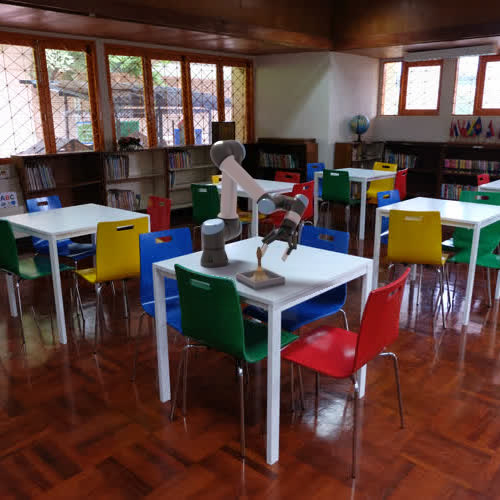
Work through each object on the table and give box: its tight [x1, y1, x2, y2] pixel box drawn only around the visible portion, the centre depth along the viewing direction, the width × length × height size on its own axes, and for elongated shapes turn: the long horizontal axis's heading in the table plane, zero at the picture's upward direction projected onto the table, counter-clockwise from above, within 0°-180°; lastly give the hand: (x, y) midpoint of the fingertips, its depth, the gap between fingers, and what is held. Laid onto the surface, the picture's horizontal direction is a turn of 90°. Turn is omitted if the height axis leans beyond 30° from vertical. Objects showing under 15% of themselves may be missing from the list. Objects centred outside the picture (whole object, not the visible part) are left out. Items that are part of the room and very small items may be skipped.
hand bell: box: [251, 246, 268, 282], centre depth 233 cm, size 8×8×16 cm
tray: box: [235, 267, 286, 291], centre depth 235 cm, size 18×16×4 cm
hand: (271, 257), depth 239 cm, fingers open, 13 cm apart
